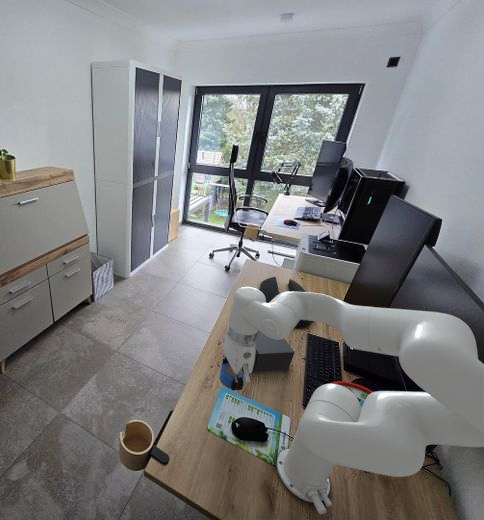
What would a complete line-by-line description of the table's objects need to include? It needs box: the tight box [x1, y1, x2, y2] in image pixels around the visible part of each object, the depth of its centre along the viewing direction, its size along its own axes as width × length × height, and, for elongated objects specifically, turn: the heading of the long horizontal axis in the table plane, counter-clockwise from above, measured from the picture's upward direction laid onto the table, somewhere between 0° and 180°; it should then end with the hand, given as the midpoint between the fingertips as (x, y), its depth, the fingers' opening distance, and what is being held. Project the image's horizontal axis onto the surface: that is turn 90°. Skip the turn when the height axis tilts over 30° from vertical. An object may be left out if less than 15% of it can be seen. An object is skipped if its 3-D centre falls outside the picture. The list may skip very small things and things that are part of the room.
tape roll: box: [219, 363, 242, 390], centre depth 84 cm, size 7×7×4 cm
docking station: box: [258, 276, 312, 329], centre depth 147 cm, size 25×40×5 cm, turn 162°
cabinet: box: [252, 330, 295, 373], centre depth 113 cm, size 14×13×9 cm
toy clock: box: [329, 380, 374, 409], centre depth 91 cm, size 20×6×20 cm
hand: (231, 378), depth 84 cm, fingers closed on tape roll, 6 cm apart
